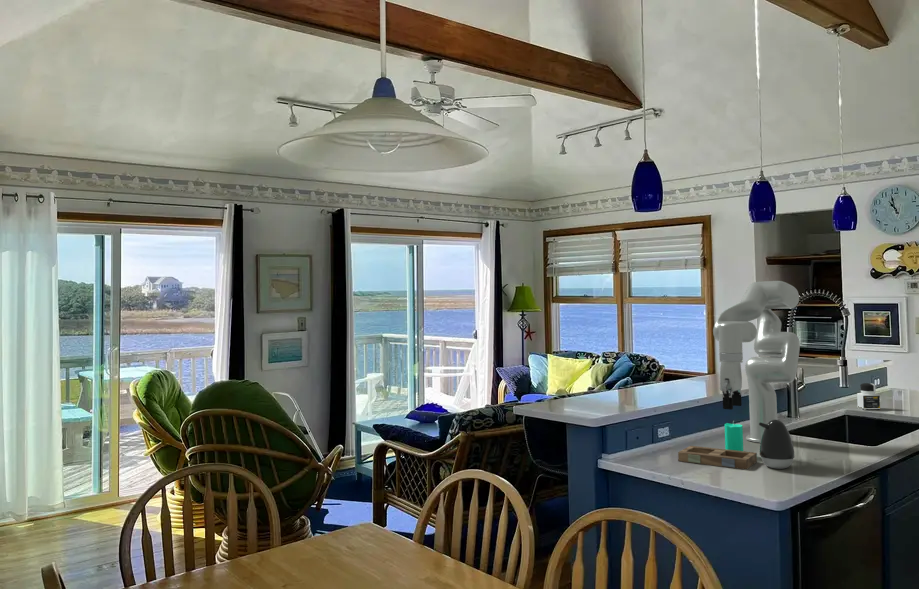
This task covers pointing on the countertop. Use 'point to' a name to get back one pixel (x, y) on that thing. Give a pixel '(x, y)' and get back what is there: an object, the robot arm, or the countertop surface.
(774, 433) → the pump dispenser
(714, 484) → the countertop surface
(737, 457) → the socket block
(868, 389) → the medicine bottle
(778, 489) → the countertop surface
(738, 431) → the candle
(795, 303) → the robot arm
